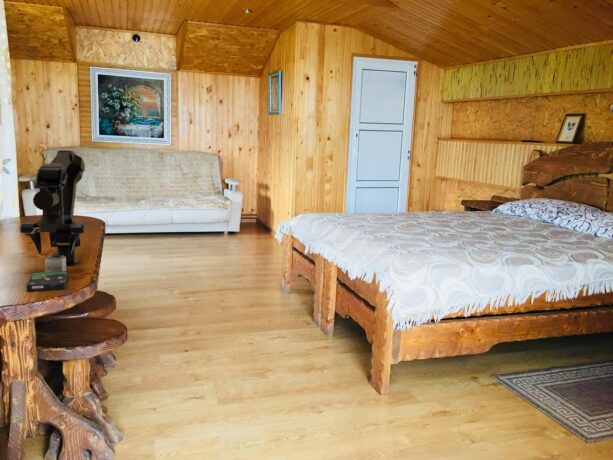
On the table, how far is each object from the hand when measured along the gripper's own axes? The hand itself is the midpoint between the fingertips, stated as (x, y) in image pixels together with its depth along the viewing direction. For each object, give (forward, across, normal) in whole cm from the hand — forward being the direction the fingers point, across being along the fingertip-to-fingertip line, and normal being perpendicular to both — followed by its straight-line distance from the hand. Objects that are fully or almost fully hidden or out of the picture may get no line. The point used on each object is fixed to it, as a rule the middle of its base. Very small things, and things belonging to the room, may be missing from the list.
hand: (55, 253), depth 174 cm
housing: (+6, 0, 0) cm, 6 cm away
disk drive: (+7, +2, -14) cm, 16 cm away
